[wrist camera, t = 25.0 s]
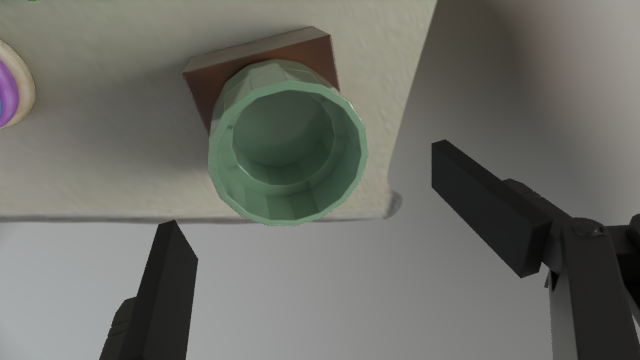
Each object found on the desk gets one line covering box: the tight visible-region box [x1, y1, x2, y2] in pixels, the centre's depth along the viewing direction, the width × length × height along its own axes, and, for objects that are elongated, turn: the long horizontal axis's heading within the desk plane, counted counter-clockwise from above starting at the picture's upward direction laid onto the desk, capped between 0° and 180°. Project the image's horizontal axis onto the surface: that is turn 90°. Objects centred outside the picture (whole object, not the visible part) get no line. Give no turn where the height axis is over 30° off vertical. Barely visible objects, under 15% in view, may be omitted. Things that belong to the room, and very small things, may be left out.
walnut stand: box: [182, 26, 340, 136], centre depth 28 cm, size 11×11×6 cm
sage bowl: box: [208, 59, 368, 226], centre depth 23 cm, size 10×10×7 cm
